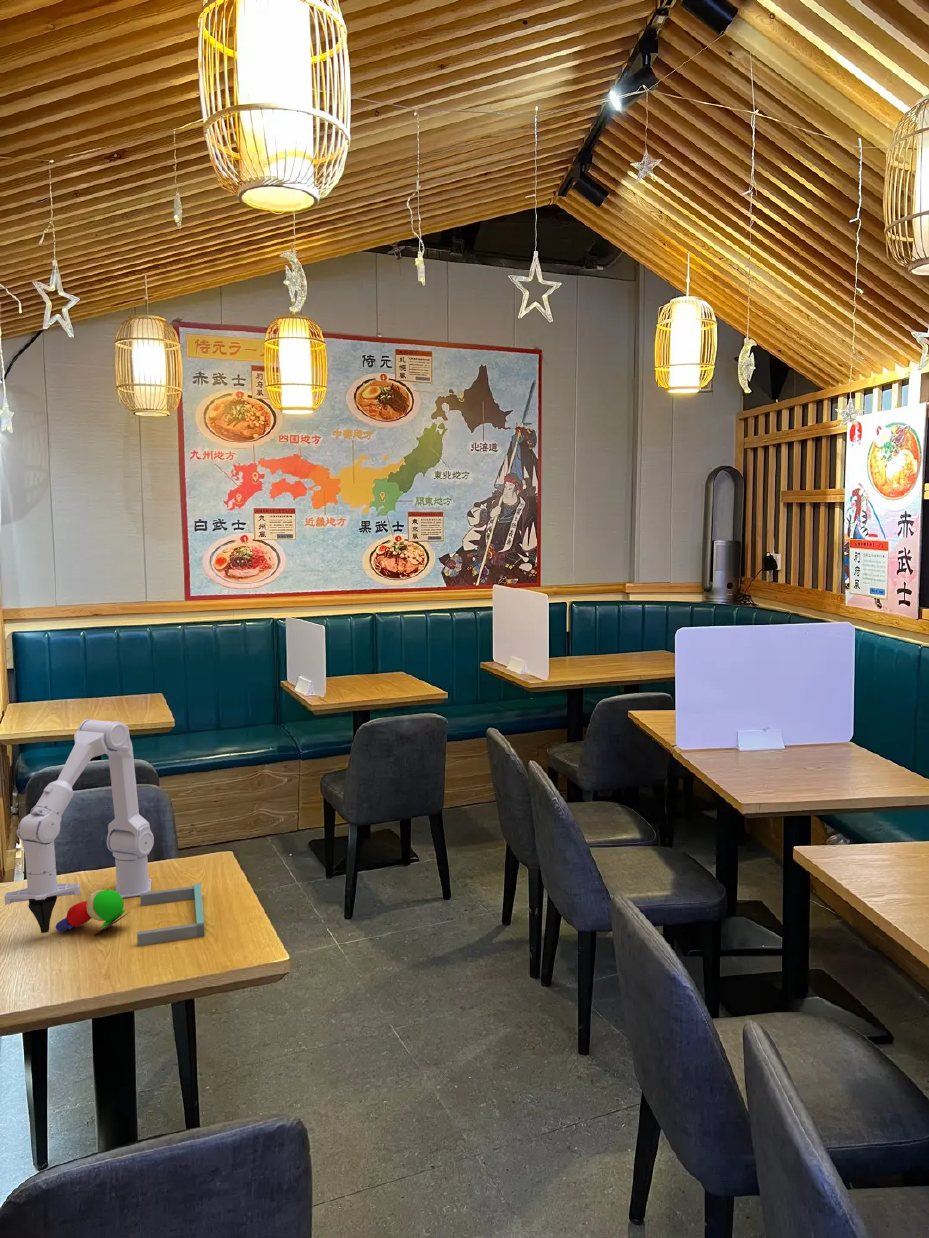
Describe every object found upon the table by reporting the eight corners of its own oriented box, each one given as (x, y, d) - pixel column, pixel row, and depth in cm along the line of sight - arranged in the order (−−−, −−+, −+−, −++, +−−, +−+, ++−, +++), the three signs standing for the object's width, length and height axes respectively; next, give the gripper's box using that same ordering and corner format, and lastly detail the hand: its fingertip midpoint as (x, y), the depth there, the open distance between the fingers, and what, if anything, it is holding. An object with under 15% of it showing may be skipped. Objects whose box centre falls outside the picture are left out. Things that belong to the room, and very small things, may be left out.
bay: (141, 903, 211) (140, 890, 210) (201, 895, 215) (200, 882, 215) (137, 946, 189) (136, 932, 189) (204, 936, 193) (204, 922, 193)
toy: (64, 952, 194) (116, 922, 191) (46, 920, 194) (97, 890, 191) (89, 935, 202) (139, 906, 199) (71, 904, 203) (120, 875, 199)
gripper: (0, 881, 187) (4, 944, 188) (76, 871, 191) (80, 933, 192) (6, 869, 193) (10, 929, 195) (79, 860, 198) (83, 919, 199)
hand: (45, 930), depth 194 cm, fingers closed
